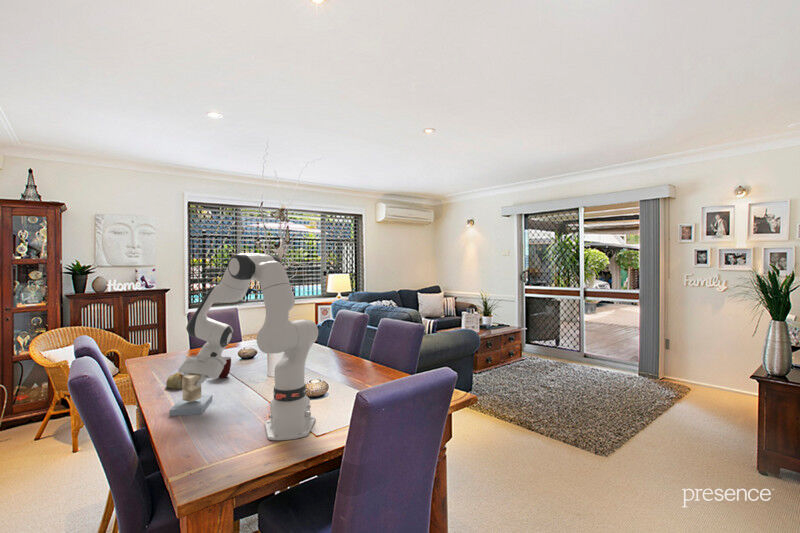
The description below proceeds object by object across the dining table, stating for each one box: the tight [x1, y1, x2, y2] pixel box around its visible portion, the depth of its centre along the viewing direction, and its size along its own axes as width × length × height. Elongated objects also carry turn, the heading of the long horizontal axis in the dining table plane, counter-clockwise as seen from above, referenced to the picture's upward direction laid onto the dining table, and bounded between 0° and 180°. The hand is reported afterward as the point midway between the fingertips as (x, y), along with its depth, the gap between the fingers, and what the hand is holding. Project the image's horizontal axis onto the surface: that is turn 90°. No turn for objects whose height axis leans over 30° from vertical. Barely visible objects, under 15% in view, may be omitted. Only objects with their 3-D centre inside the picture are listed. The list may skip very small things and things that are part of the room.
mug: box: [218, 356, 232, 379], centre depth 214 cm, size 10×8×10 cm
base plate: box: [169, 394, 213, 417], centre depth 171 cm, size 16×12×3 cm
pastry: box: [165, 371, 185, 390], centre depth 202 cm, size 14×12×8 cm
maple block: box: [181, 374, 202, 402], centre depth 171 cm, size 5×5×10 cm
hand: (190, 385), depth 170 cm, fingers open, 5 cm apart
